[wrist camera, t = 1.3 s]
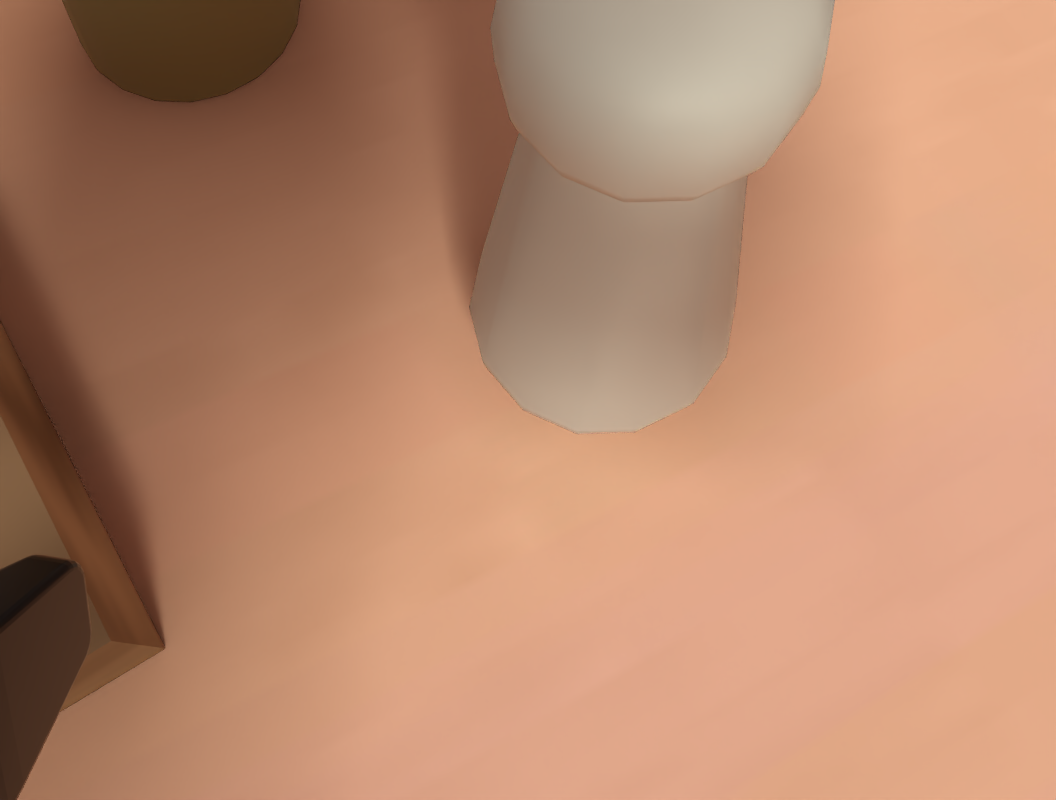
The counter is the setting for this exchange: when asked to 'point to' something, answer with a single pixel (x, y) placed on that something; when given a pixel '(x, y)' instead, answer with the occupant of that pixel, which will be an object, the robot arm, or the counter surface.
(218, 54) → the pepper shaker
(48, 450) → the base board
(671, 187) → the salt shaker
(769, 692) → the counter surface
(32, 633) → the robot arm
